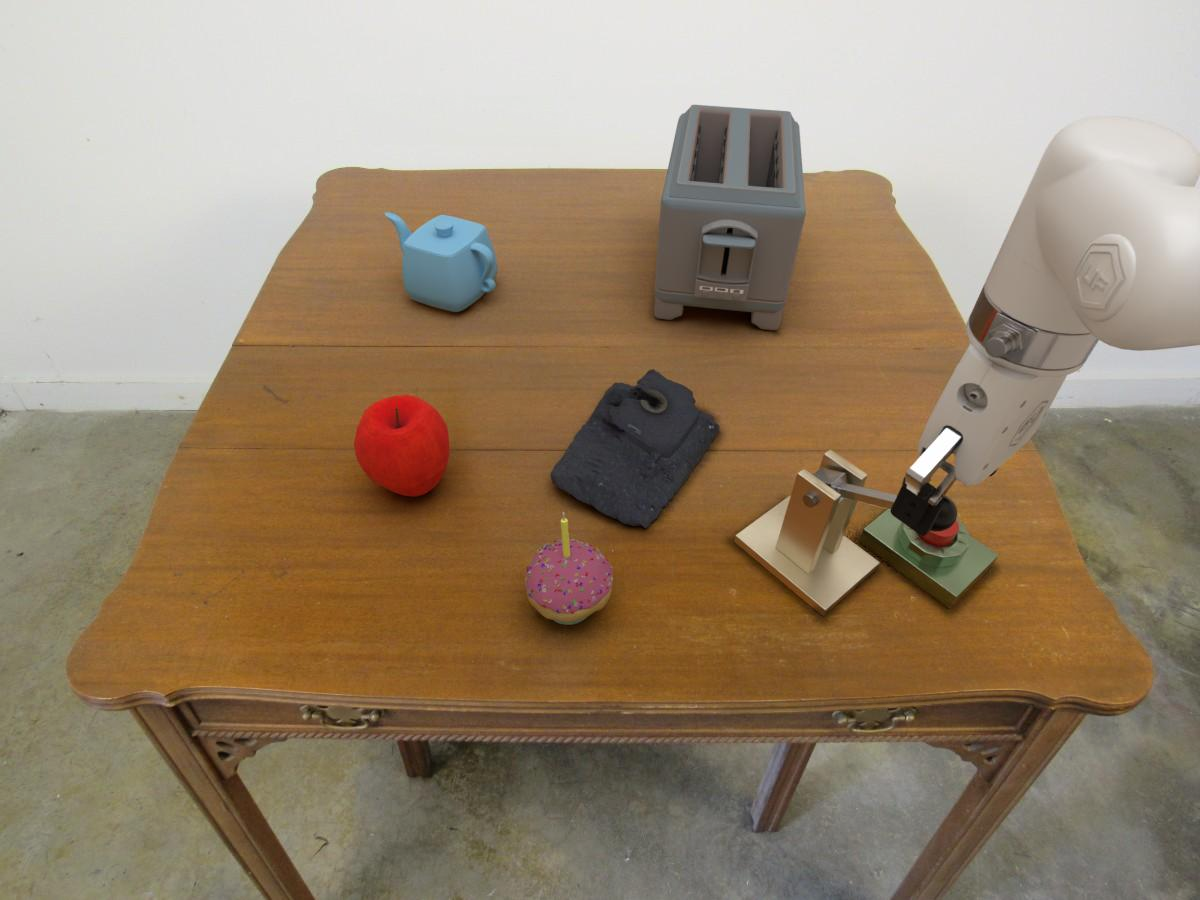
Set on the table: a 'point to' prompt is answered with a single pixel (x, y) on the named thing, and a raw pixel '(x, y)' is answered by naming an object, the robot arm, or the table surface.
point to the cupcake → (568, 579)
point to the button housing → (929, 557)
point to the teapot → (446, 261)
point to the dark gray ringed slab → (636, 449)
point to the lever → (881, 497)
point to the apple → (403, 444)
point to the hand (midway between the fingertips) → (942, 493)
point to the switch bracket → (812, 539)
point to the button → (941, 536)
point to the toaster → (730, 213)
